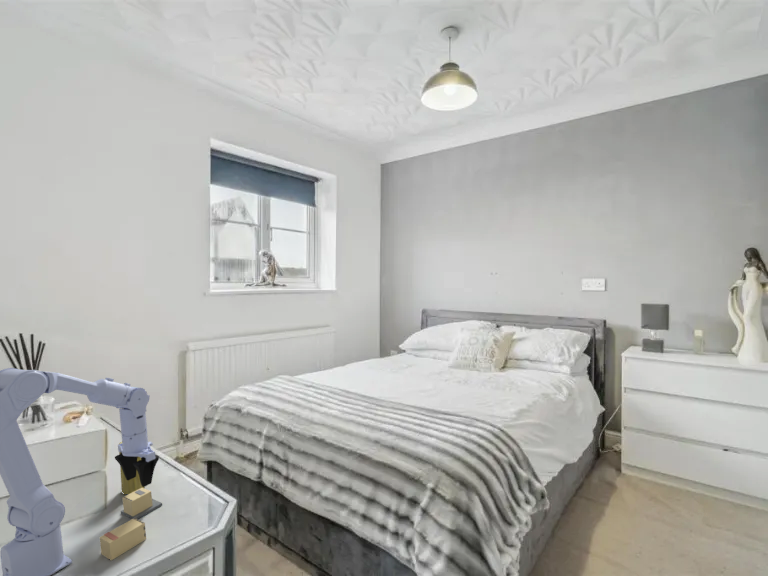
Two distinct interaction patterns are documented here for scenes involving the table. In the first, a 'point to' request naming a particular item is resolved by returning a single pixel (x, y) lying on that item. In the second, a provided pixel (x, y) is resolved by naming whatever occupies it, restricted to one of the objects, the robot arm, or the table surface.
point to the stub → (137, 501)
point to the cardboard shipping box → (122, 538)
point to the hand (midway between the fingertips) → (138, 481)
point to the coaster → (154, 505)
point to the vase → (130, 481)
